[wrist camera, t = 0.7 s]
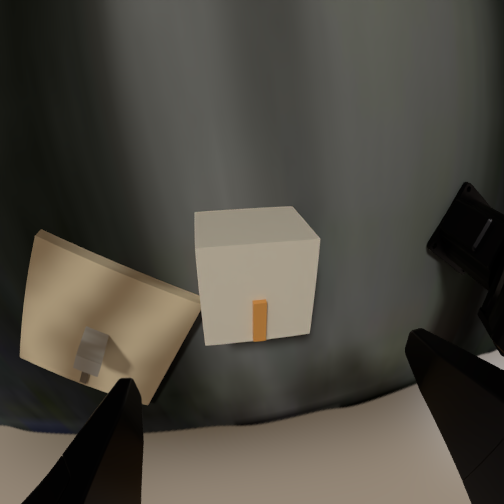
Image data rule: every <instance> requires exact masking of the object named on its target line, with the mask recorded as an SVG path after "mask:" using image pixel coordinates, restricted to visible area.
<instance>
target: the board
mask: <svg viewBox="0 0 504 504" xmlns="http://www.w3.org/2000/svg"><path fill="white" fill-rule="evenodd" d="M200 311H201V304H200V296H199V295H196V294H194V293H191V292H189V291H186V290H183V289H181V288H178V287H176V286H173V285H170V284H168V283H165V282H163V281H160V280H158V279H155V278H153V277H150V276H148V275H145V274H143V273H140V272H138V271H135V270H133V269H131V268H128V267H126V266H123V265H121V264H119V263H116V262H114V261H111V260H109V259H107V258H104V257H102V256H100V255H97V254H95V253H93V252H90V251H88V250H86V249H84V248H81V247H79V246H77V245H75V244H72V243H70V242H68V241H66V240H63V239H61V238H59V237H57V236H55V235H53V234H50V233H48V232H46V231H44V230H42V229H41V230H40V231H39V232H38V233H37V234H36V235H35V239H34V244H33V249H32V254H31V260H30V265H29V271H28V278H27V284H26V292H25V299H24V308H23V318H22V330H21V345H20V357H21V358H23V359H25V360H27V361H29V362H31V363H33V364H36V365H38V366H40V367H42V368H45V369H47V370H49V371H52V372H54V373H56V374H59V375H61V376H64V377H66V378H69V379H71V380H74V381H76V382H79V383H81V384H84V385H87V386H90V387H92V388H95V389H98V390H101V391H104V392H107V393H109V391H110V390H111V389H112V388H113V386H114V385H115V384H116V382H117V381H118V380H119V379H120V378H132V379H133V380H134V381H135V383H136V386H137V388H138V390H139V392H140V394H141V398H142V404H145V405H148V404H149V402H150V401H151V399H152V397H153V395H154V393H155V392H156V390H157V388H158V386H159V384H160V382H161V381H162V379H163V377H164V375H165V373H166V372H167V370H168V368H169V366H170V364H171V363H172V361H173V359H174V357H175V355H176V354H177V352H178V350H179V348H180V346H181V345H182V343H183V341H184V339H185V337H186V336H187V334H188V332H189V330H190V329H191V327H192V325H193V323H194V321H195V320H196V318H197V316H198V314H199V313H200Z"/></svg>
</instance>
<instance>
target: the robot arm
mask: <svg viewBox="0 0 504 504" xmlns="http://www.w3.org/2000/svg"><path fill="white" fill-rule="evenodd" d="M467 187H468V188H467ZM433 244H434V245H433ZM427 246H428V249H429V250H431V251H432V252H433V253H435V254H436V255H437V256H439V257H440V258H441V259H443V260H444V261H445V262H447V263H448V264H449V265H450V266H452V267H453V268H454V269H456V270H457V271H458V272H459V273H461V274H465V273H468V274H469V275H470V276H471V277H472V278H474V279H475V280H476V281H477V282H478V283H480V284H481V285H482V286H483V287H484V288H485V289H487V290H488V293H487V296H486V298H485V300H484V303H483V305H482V307H481V308H480V309H479V311H478V316H479V318H480V320H481V321H482V323H483V325H484V327H485V328H486V330H487V332H488V334H489V335H490V337H491V339H492V341H493V343H494V345H495V346H496V348H497V350H498V351H499V353H500V354H501V355H502V356H504V214H502V213H500V212H498V211H496V210H495V209H493V208H491V207H490V206H489V205H488V203H487V202H486V201H485V200H484V198H483V197H482V196H481V195H480V193H479V192H478V191H477V190H476V189H475V188H474V186H473V185H472V184H471V183H468V182H465V183H464V184H463V185H462V187H461V189H460V190H459V192H458V194H457V196H456V198H455V199H454V201H453V203H452V204H451V206H450V208H449V210H448V211H447V213H446V215H445V216H444V218H443V220H442V221H441V223H440V224H439V226H438V228H437V229H436V231H435V232H434V234H433V236H432V237H431V239H430V240H429V242H428V245H427ZM405 354H406V357H407V359H408V362H409V364H410V367H411V369H412V372H413V374H414V377H415V380H416V382H417V385H418V387H419V389H420V392H421V394H422V396H423V398H424V399H425V401H426V403H427V406H428V407H429V409H430V411H431V414H432V415H433V418H434V420H435V422H436V424H437V426H438V428H439V430H440V432H441V434H442V436H443V439H444V441H445V443H446V445H447V447H448V449H449V451H450V454H451V456H452V458H453V460H454V463H455V465H456V467H457V469H458V471H459V474H460V476H461V479H462V480H463V484H464V486H465V489H466V491H467V493H468V496H469V499H470V501H471V504H504V370H502V369H501V370H500V368H498V367H496V366H494V365H492V364H490V363H489V362H487V361H485V360H483V359H481V358H479V357H477V356H475V355H473V354H471V353H469V352H467V351H465V350H463V349H462V348H460V347H458V346H456V345H454V344H452V343H450V342H448V341H446V340H444V339H442V338H440V337H438V336H436V335H434V334H432V333H430V332H428V331H426V330H425V329H422V328H418V329H415V330H412V331H411V332H410V333H409V336H408V340H407V343H406V347H405ZM143 444H144V441H143V418H142V398H141V394H140V392H139V390H138V388H137V386H136V383H135V381H134V380H133V379H132V378H120V379H119V380H118V381H117V382H116V384H115V385H114V386H113V388H112V389H111V390H110V391H109V393H108V394H107V395H106V397H105V398H104V399H103V401H102V402H101V403H100V405H99V406H98V407H97V409H96V410H95V411H94V413H93V414H92V415H91V417H90V418H89V419H88V421H87V422H86V423H85V425H84V426H83V427H82V429H81V430H80V431H79V433H78V434H77V435H76V437H75V438H74V440H73V441H72V442H71V444H70V445H69V446H68V448H67V449H66V450H65V452H64V453H63V456H61V457H60V459H59V460H58V461H57V463H56V464H55V465H54V467H53V468H52V469H51V471H50V472H49V473H48V474H47V476H46V477H45V478H44V479H43V480H42V481H41V483H40V484H39V485H38V486H37V487H36V488H35V489H34V491H32V493H31V494H30V495H29V496H28V497H27V498H26V499H25V500H24V501H23V502H22V503H21V504H141V485H142V463H143Z"/></svg>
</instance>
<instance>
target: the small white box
mask: <svg viewBox="0 0 504 504" xmlns="http://www.w3.org/2000/svg"><path fill="white" fill-rule="evenodd" d="M319 248H320V238H319V237H318V236H317V234H316V233H315V232H314V231H313V230H312V229H311V227H310V226H309V225H308V224H307V223H306V222H305V220H304V219H303V218H302V217H301V216H300V215H299V213H298V212H297V211H296V210H295V209H294V208H293V207H292V206H286V207H266V208H248V209H231V210H216V211H202V212H195V253H196V264H197V275H198V285H199V294H200V304H201V313H202V321H203V330H204V338H205V346H207V345H218V344H229V343H239V342H248V341H253V342H257V341H266V339H274V338H282V337H289V336H296V335H303V334H310V327H311V319H312V311H313V303H314V295H315V286H316V277H317V268H318V258H319Z"/></svg>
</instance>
